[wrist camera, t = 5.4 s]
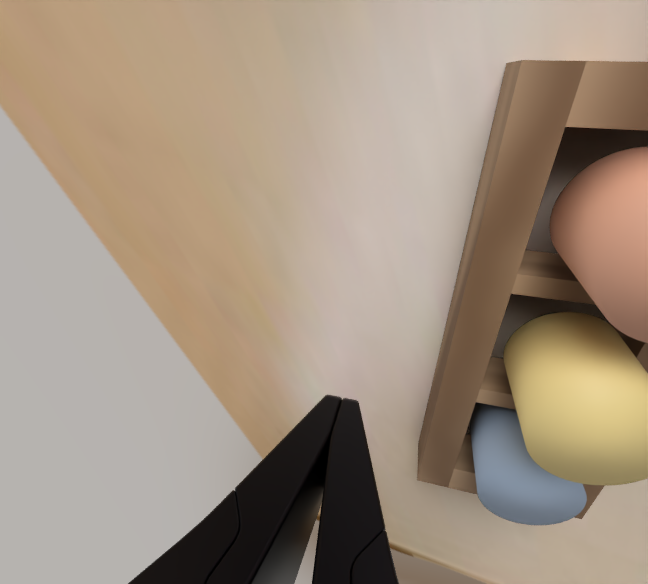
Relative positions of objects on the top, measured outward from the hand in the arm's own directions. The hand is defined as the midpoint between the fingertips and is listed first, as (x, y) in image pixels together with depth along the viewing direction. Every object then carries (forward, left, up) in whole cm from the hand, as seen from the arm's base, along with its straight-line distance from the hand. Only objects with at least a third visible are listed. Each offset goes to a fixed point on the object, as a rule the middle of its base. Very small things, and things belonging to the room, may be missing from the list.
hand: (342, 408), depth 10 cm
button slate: (-9, +11, -12) cm, 18 cm away
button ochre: (-9, +4, -10) cm, 14 cm away
